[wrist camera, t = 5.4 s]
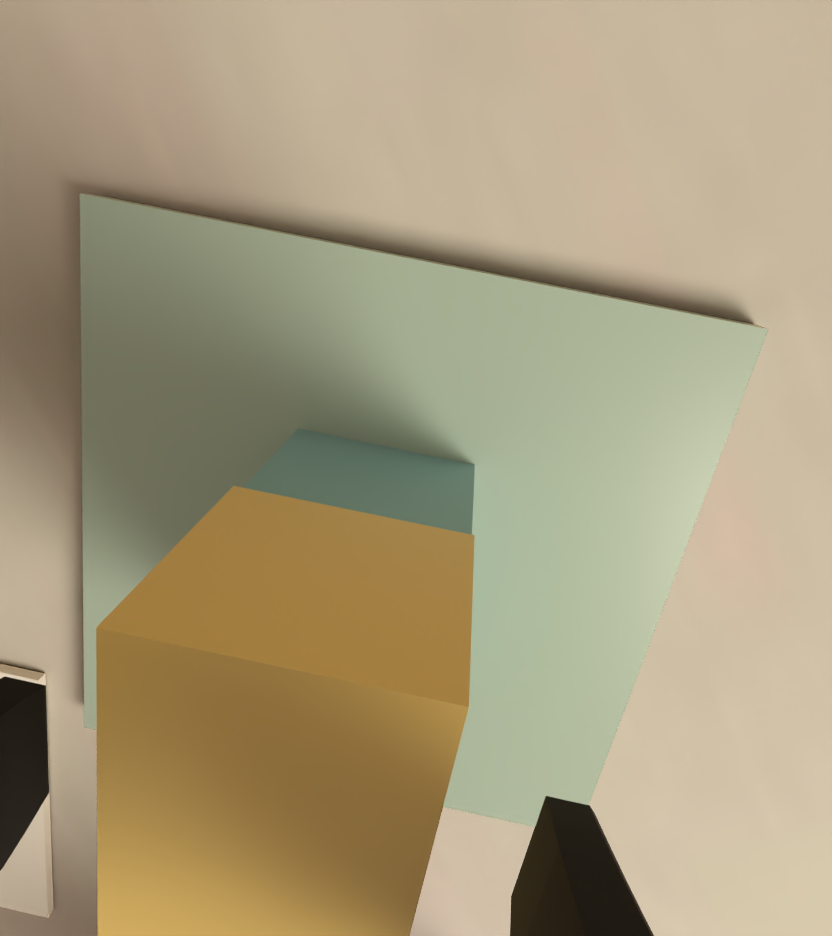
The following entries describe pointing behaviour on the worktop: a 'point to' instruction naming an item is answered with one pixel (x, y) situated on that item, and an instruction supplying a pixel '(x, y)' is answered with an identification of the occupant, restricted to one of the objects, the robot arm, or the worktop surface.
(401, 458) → the brick teal
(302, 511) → the brick ochre
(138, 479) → the baseplate
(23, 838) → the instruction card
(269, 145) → the worktop surface
